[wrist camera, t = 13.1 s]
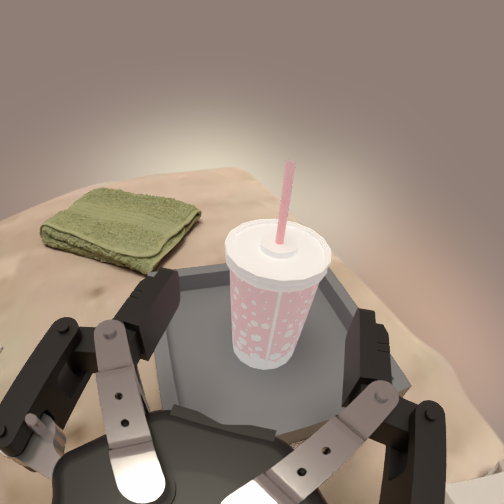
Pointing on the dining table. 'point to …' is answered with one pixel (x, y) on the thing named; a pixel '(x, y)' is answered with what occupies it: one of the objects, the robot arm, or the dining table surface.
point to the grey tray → (252, 379)
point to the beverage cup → (273, 282)
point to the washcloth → (120, 227)
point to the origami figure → (478, 489)
